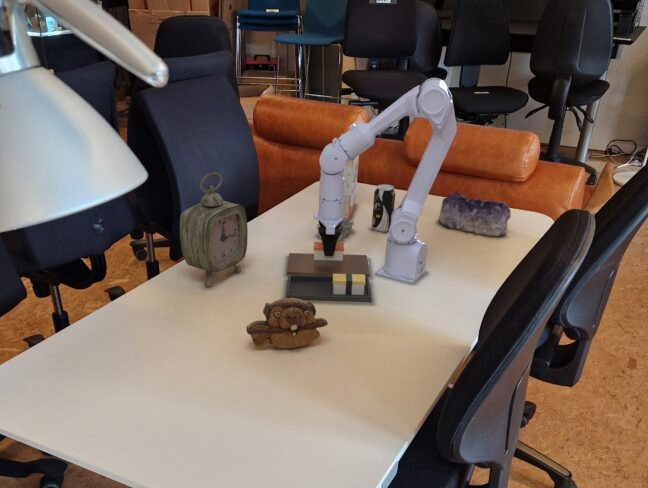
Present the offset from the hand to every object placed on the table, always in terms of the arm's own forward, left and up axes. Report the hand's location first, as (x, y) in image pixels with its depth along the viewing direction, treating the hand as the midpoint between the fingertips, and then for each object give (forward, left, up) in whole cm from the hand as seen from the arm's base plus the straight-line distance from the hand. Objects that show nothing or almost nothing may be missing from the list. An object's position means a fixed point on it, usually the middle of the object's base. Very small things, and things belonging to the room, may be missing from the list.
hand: (328, 252), depth 177 cm
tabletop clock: (+20, +20, -4) cm, 29 cm away
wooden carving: (-13, +39, -4) cm, 42 cm away
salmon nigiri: (0, 0, -1) cm, 1 cm away
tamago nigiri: (-11, +10, -4) cm, 15 cm away
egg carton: (+10, -21, -4) cm, 23 cm away
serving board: (0, 0, -4) cm, 4 cm away
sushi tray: (-7, +12, -4) cm, 15 cm away
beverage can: (+1, -32, -4) cm, 32 cm away
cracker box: (+17, -39, -4) cm, 43 cm away
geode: (-20, -47, -4) cm, 51 cm away
